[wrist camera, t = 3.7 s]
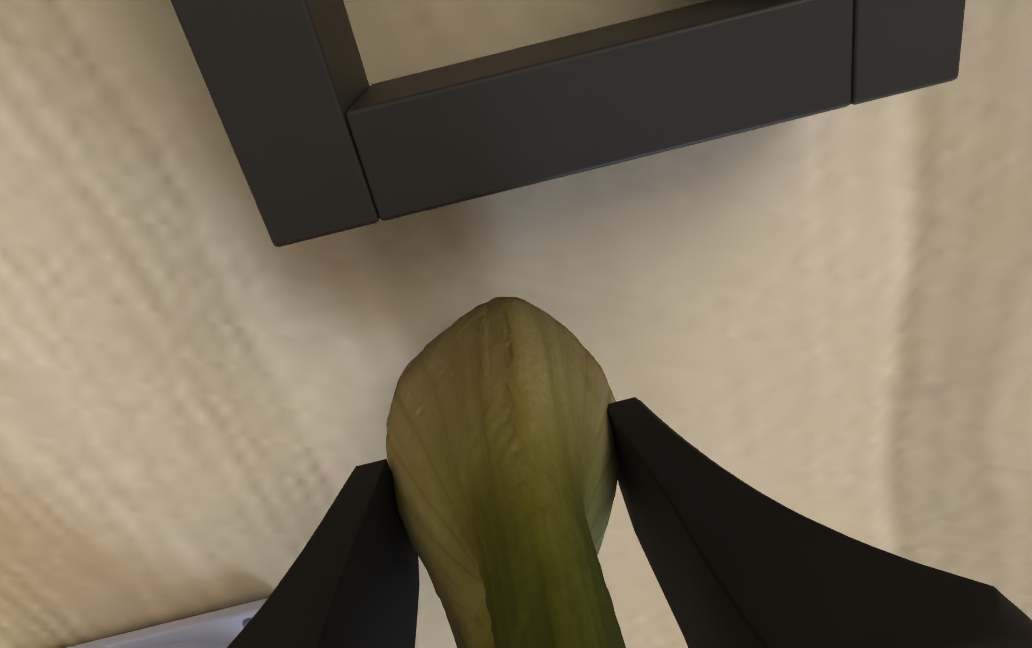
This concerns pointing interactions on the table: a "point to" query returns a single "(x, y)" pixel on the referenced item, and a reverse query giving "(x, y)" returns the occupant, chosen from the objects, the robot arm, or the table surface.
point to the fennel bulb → (509, 478)
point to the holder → (533, 96)
